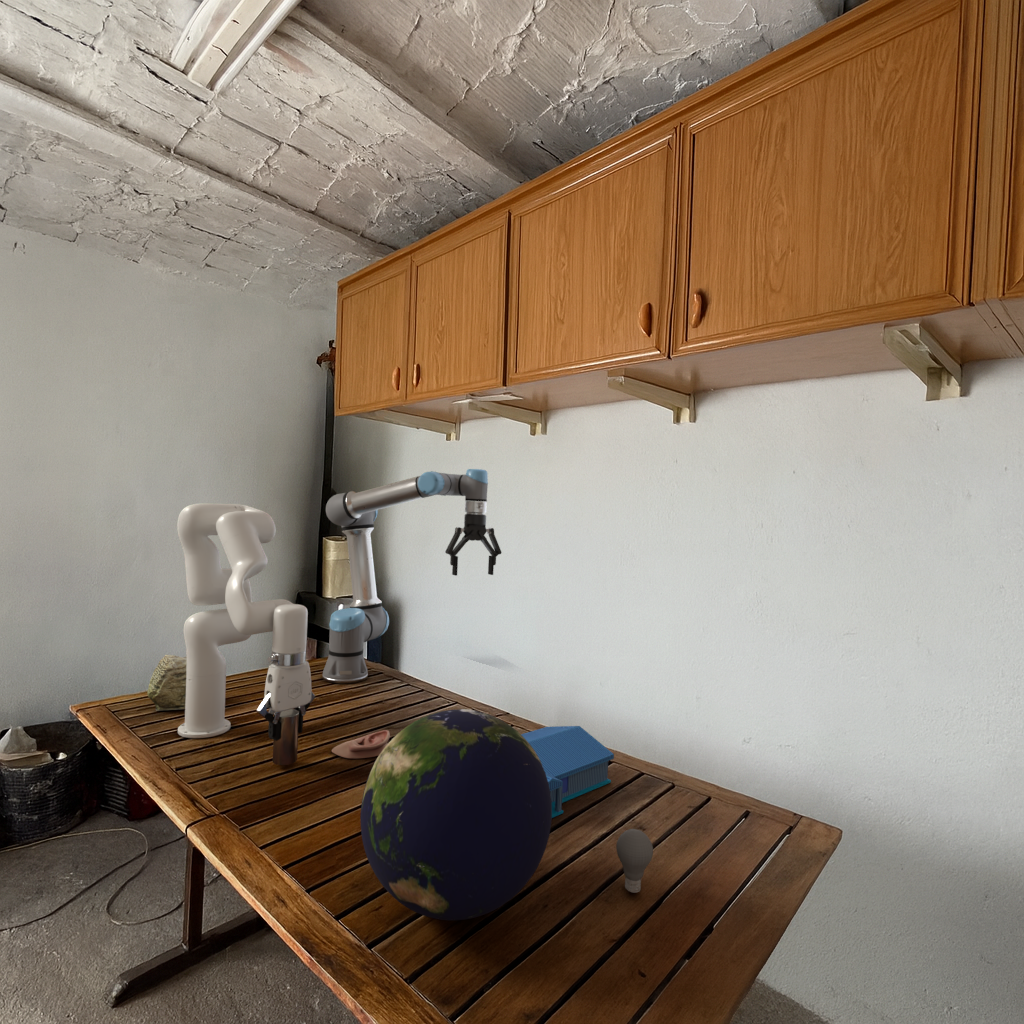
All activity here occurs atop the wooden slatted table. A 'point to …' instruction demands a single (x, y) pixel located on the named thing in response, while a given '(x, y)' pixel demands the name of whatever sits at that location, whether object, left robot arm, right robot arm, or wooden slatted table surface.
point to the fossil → (169, 683)
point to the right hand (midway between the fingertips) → (472, 574)
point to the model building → (570, 762)
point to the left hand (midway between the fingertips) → (285, 734)
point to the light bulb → (634, 857)
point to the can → (287, 738)
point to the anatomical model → (363, 746)
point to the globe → (456, 814)
